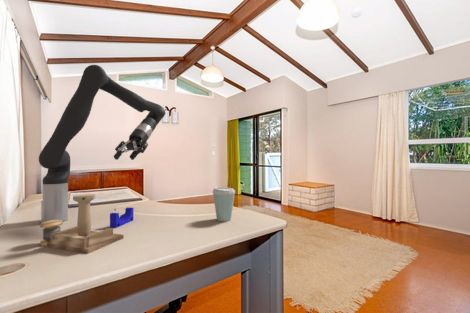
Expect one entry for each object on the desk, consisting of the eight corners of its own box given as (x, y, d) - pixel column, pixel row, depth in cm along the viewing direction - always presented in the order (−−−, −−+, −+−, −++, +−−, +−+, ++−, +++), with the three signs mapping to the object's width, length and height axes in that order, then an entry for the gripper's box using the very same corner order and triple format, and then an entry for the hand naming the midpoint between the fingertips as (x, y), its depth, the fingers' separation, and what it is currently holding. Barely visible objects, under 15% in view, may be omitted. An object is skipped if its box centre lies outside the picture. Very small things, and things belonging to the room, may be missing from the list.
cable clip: (124, 220, 109) (124, 207, 109) (133, 220, 108) (133, 207, 108) (106, 227, 97) (106, 213, 97) (116, 228, 96) (116, 213, 96)
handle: (74, 238, 80) (74, 195, 80) (95, 235, 83) (95, 193, 83) (71, 243, 76) (71, 197, 76) (94, 240, 79) (94, 195, 79)
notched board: (46, 246, 76) (46, 233, 76) (85, 233, 89) (85, 222, 90) (88, 253, 71) (88, 239, 71) (123, 238, 84) (123, 226, 84)
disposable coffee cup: (235, 216, 114) (235, 186, 114) (235, 223, 103) (235, 189, 103) (213, 216, 114) (213, 186, 114) (211, 223, 103) (211, 189, 103)
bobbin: (35, 244, 78) (35, 223, 78) (54, 238, 83) (54, 219, 83) (48, 246, 76) (48, 225, 76) (66, 240, 82) (66, 220, 82)
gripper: (125, 128, 112) (105, 152, 101) (150, 127, 107) (132, 152, 96) (133, 140, 117) (114, 164, 106) (157, 140, 112) (141, 164, 101)
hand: (123, 158), depth 101 cm, fingers open, 8 cm apart
